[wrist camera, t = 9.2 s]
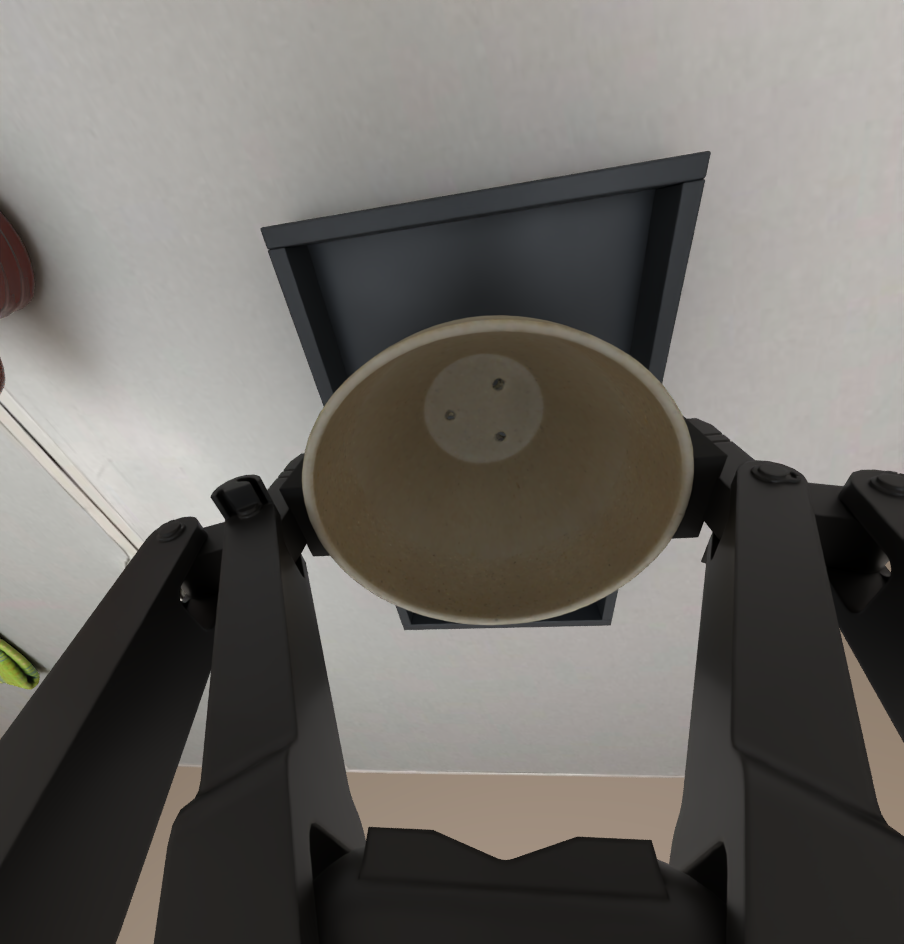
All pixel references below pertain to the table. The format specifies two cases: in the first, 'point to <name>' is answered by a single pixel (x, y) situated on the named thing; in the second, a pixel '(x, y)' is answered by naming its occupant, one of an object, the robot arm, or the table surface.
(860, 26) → the table surface
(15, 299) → the mug
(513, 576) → the flower pot
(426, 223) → the tray
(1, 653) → the dish towel
